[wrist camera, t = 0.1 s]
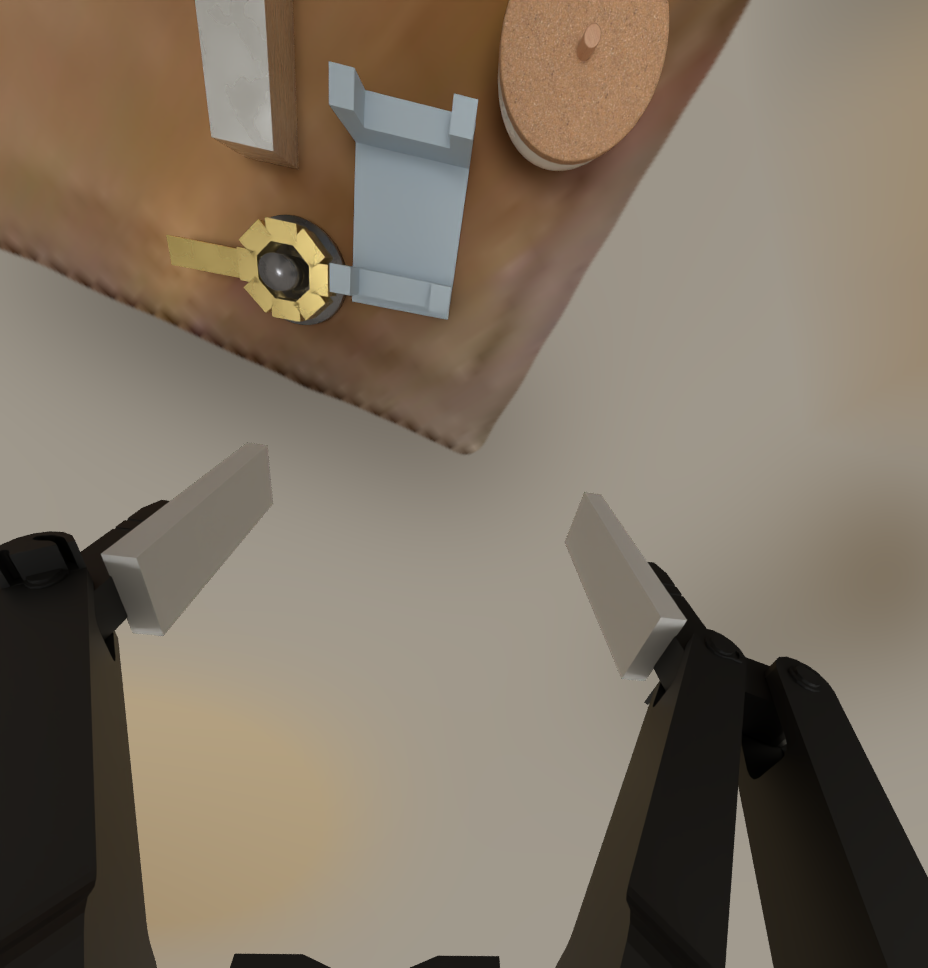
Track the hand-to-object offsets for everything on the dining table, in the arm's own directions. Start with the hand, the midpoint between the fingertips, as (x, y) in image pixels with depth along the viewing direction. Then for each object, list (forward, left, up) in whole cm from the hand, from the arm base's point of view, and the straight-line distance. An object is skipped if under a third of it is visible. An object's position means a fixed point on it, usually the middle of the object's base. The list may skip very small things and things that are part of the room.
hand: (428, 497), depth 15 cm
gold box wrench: (-6, -18, -27) cm, 33 cm away
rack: (-12, -5, -28) cm, 31 cm away
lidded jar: (-22, +6, -28) cm, 36 cm away
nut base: (-6, -15, -28) cm, 32 cm away
